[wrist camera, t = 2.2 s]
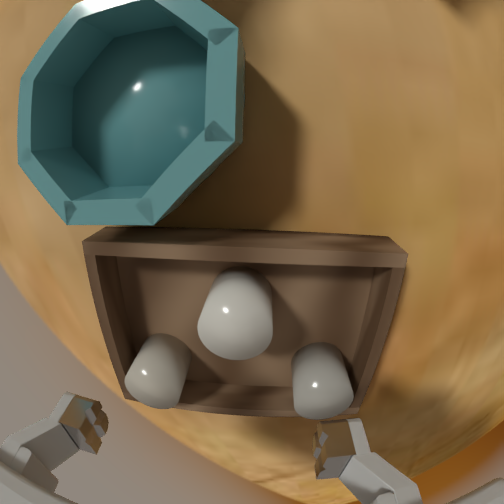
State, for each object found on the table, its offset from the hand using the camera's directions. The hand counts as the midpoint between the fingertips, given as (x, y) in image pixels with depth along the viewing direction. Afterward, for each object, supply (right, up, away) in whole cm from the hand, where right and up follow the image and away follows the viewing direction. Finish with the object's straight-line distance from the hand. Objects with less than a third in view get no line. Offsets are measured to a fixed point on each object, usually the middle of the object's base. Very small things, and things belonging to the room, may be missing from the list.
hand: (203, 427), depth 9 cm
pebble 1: (-5, -1, +11) cm, 12 cm away
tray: (+1, +1, +10) cm, 11 cm away
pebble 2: (+1, +4, +9) cm, 10 cm away
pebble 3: (+6, -2, +11) cm, 13 cm away
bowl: (-5, +15, +6) cm, 17 cm away
